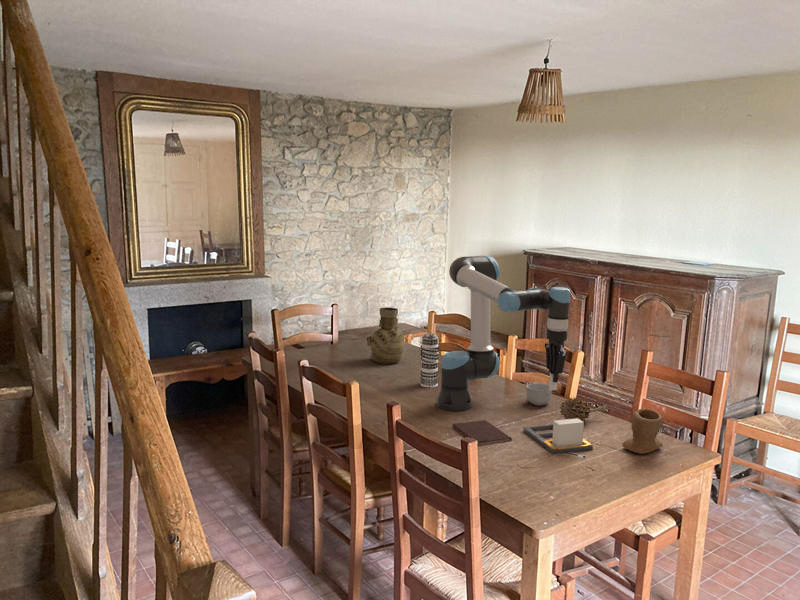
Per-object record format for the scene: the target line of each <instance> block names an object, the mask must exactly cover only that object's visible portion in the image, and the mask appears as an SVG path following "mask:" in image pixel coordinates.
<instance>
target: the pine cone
mask: <svg viewBox="0 0 800 600" xmlns="http://www.w3.org/2000/svg"><path fill="white" fill-rule="evenodd" d="M559 405H560V406H559V407H558V408H559V409H560V410H559V413H560V415H561V416H563V418H565V420H566V419H577V418H578V419H580V420H581V421H583V422H584V421H586V419H589V417H590V416H591V415H590V413H596V412H600V411H604V410H608V407H609V405H608V404H603V405H602V406H599V407H596V408H591V407H590V406H589V403H588V402H586V401H584V400H583V399H580V398H578V397H573V398H572V397H569V398H568V399H563V400H562V402H561V403H559Z"/></svg>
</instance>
